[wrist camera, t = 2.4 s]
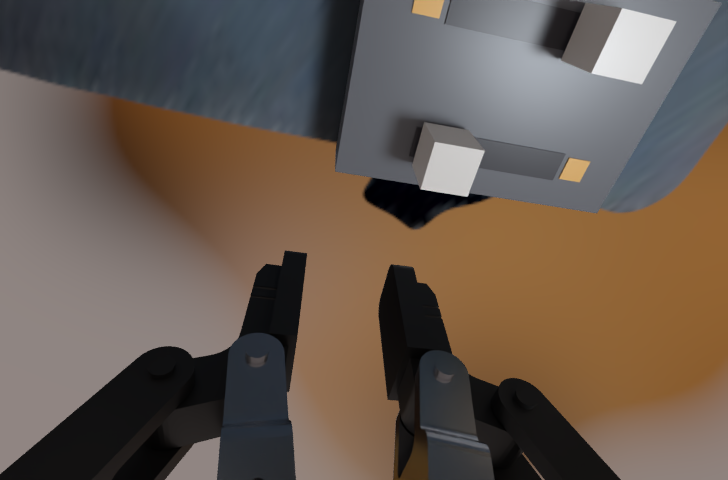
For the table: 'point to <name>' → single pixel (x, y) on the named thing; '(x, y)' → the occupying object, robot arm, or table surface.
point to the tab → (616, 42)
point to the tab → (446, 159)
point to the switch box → (503, 93)
